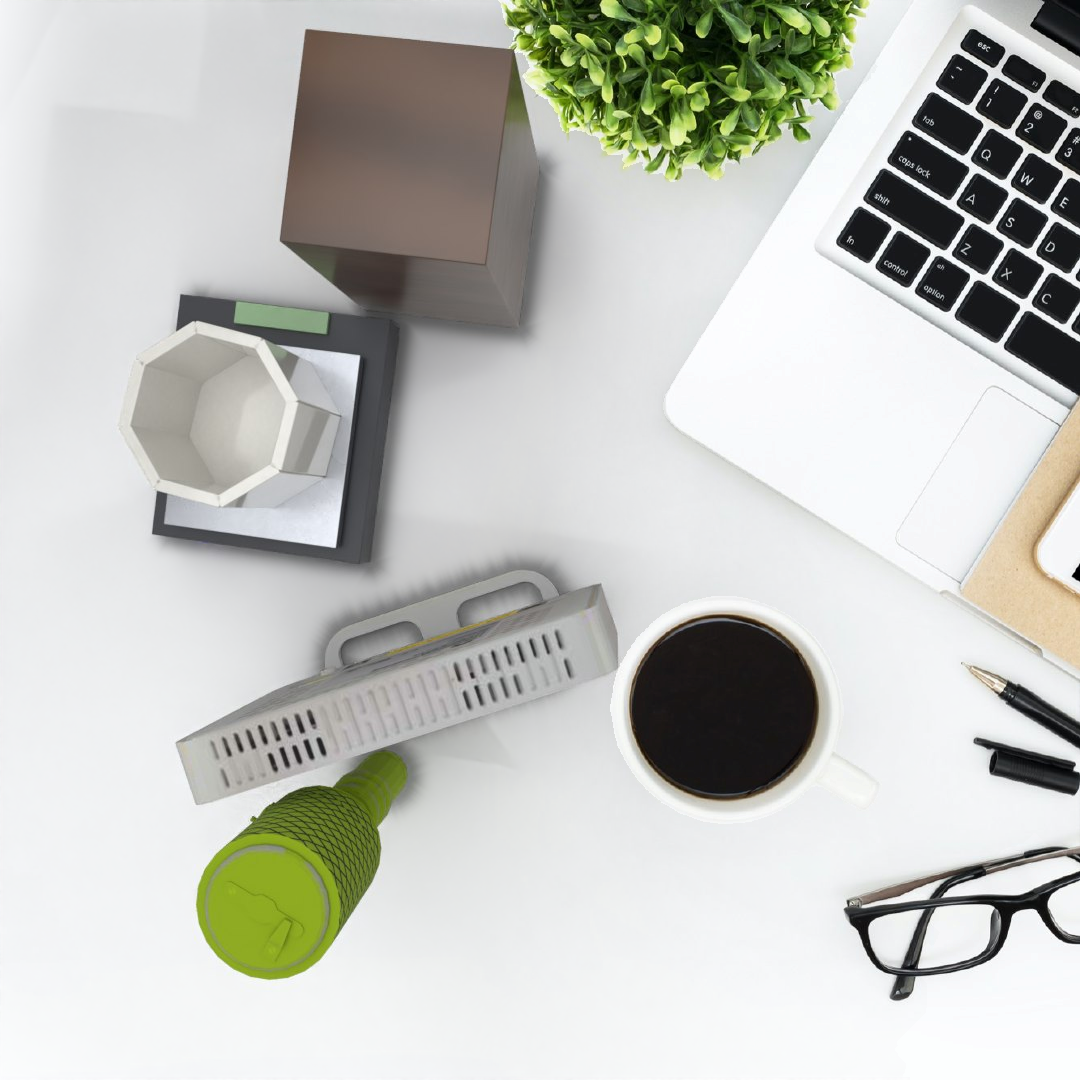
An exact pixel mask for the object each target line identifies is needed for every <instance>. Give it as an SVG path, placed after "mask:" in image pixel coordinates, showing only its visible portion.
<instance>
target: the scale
mask: <svg viewBox="0 0 1080 1080" xmlns="http://www.w3.org/2000/svg"><path fill="white" fill-rule="evenodd" d="M193 321H194V322H196V321H200V322H204V323H208V324H212V325H216V326H219V327H223V328H227V329H231V330H235V331H238V332H242V333H246V334H250V335H254V336H257V337H261V338H263V339H265V340H267V341H269V342H271V343H273V344H276V345H284V346H292V347H300V348H308V349H316V350H323V351H331V352H339V353H347V354H355V355H361V356H362V357H364V361H363V369H362V377H361V385H360V393H359V401H358V408H357V416H356V424H355V432H354V440H353V448H352V456H351V464H350V471H349V479H348V487H347V495H346V503H345V511H344V519H343V527H342V534H341V542H340V548H329V547H322V546H315V545H308V544H301V543H294V542H287V541H280V540H273V539H266V538H259V537H252V536H244V535H237V534H230V533H223V532H216V531H209V530H202V529H195V528H188V527H181V526H174V525H167V524H164V519H165V510H166V502H167V493H164V492H160V491H156V496H155V505H154V512H153V520H152V528H151V535H153V536H161V537H165V538H167V537H168V538H173V539H174V538H175V539H181V540H188V541H196V542H201V543H202V542H203V543H210V544H217V545H222V546H223V545H224V546H229V547H238V548H243V549H244V548H245V549H250V550H251V549H252V550H258V551H265V552H272V553H280V554H287V555H293V556H301V557H307V558H315V559H321V560H329V561H336V562H341V563H342V562H343V563H350V564H357V565H361V564H365V563H370V562H371V556H372V549H373V543H374V542H373V541H374V533H375V526H376V518H377V517H376V516H377V509H378V501H379V495H380V488H381V479H382V471H383V465H384V463H383V462H384V455H385V448H386V439H387V432H388V423H389V416H390V409H391V401H392V393H393V385H394V377H395V369H396V363H397V362H396V361H397V354H398V347H399V346H398V345H399V339H400V338H399V337H400V329H401V327H399V326H398V324H396V323H395V322H394V321H393V320H391V319H389V318H388V319H387V318H380V317H374V316H373V317H372V316H365V315H364V316H363V315H355V314H348V313H340V312H331V311H323V310H315V309H306V308H298V307H289V306H283V305H275V304H265V303H257V302H250V301H241V300H234V299H233V300H232V299H225V298H216V297H210V296H209V297H208V296H200V295H193V294H184V293H180V294H179V301H178V311H177V318H176V327H175V332H177V331H178V330H180V329H181V328H183V327H185V326H186V325H188V324H190V323H191V322H193Z"/></svg>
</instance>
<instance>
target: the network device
mask: <svg viewBox="0 0 1080 1080" xmlns="http://www.w3.org/2000/svg"><path fill="white" fill-rule="evenodd" d="M523 582H525V583H531V584H533V585H534V586H536V587H537V589H538V590H539V591H540V595H541V597H542V601H539V602H536V603H533V604H529V605H527V606H524V607H521V608H517V609H513V610H511V611H508V612H504V613H502V614H499V615H495V616H492V617H490V618H487V619H484V620H481V621H477V622H475V623H471V624H468V625H466V626H461V623H460V620H459V615H458V614H459V609H460V607H461V605H462V604H463V603H465V601H468V600H472V599H475V598H477V597H480V596H483V595H487V594H489V593H492V592H495V591H498V590H501V589H504V588H508V587H511V586H513V585H516V584H520V583H523ZM612 615H613V614H612V612H611V609H610V606H609V603H608V600H607V598H606V594H605V591H604V589H603V586H602V583H601V582H600V583H595V584H591V585H588V586H585V587H582V588H581V587H580V588H579V589H576V590H572V591H569V592H566V593H563V594H560V593H559V591H558V588H557V587H556V586H555V584H554V583H553V581H551V579H549V578H548V577H547V576H545V575H544V574H542V573H540V572H539V571H534V570H531V569H516V570H512V571H508V572H506V573H505V572H504V573H502V574H499V575H496V576H494V577H490V578H488V579H484V580H481V581H479V582H475V583H472V584H469V585H467V586H463V587H460V588H457V589H454V590H452V591H449V592H445V593H442V594H439V595H436V596H433V597H430V598H427V599H425V600H422V601H418V602H415V603H412V604H409V605H406V606H404V607H400V608H397V609H394V610H390V611H388V612H385V613H382V614H379V615H375V616H373V617H370V618H367V619H364V620H361V621H358V622H355V623H351V624H350V625H348V626H345V627H342V628H341V629H340V630H339V631H337V632H336V633H335V634H334V635H333V637H331V639H330V640H329V642H328V644H327V646H326V650H325V653H324V667H325V669H322V670H320V671H319V673H318V674H316V675H313V676H309V677H307V678H304V679H301V680H298V681H295V682H292V683H289V684H287V685H284V686H281V687H279V688H277V689H274V690H272V691H270V692H268V693H266V694H264V695H262V696H260V697H259V698H257V699H255V700H252V701H251V702H249V703H247V704H245V705H243V706H241V707H239V708H238V709H236V710H233V711H232V712H230V713H228V714H226V715H224V716H223V717H219V719H217V720H215V721H213V722H211V723H209V724H207V725H205V726H204V727H201V728H200V729H198V730H196V731H194V732H192V733H190V734H188V735H186V736H184V737H182V738H181V739H179V740H176V741H175V742H174V744H175V747H176V749H177V753H178V755H179V758H180V762H181V765H182V767H183V770H184V773H185V776H186V779H187V782H188V785H189V788H190V791H191V794H192V797H193V800H194V804H195V805H196V806H202V805H207V804H210V803H214V802H216V801H217V802H218V801H219V800H222V799H223V800H224V799H226V798H229V797H232V796H235V795H239V794H242V793H244V792H247V791H251V790H254V789H257V788H260V787H264V786H266V785H267V786H268V785H270V784H273V783H276V782H280V781H282V780H286V779H288V778H292V777H295V776H298V775H302V774H304V773H308V772H311V771H314V770H317V769H320V768H322V767H327V766H330V765H332V764H335V763H339V762H343V761H345V760H348V759H352V758H355V757H358V756H360V755H365V754H367V753H370V752H374V751H376V750H377V751H378V750H379V749H382V748H386V747H389V746H391V745H395V744H398V743H401V742H405V741H407V740H411V739H415V738H417V737H420V736H424V735H426V734H427V735H428V734H429V733H433V732H437V731H440V730H442V729H445V728H449V727H452V726H455V725H457V724H461V723H464V722H468V721H470V720H473V719H477V718H480V717H483V716H486V715H489V714H493V713H496V712H498V711H502V710H506V709H508V708H512V707H515V706H517V705H521V704H524V703H527V702H530V701H534V700H536V699H539V698H542V697H546V696H549V695H552V694H555V693H558V692H562V691H564V690H567V689H571V688H573V687H577V686H580V685H583V684H586V683H590V682H592V681H595V680H598V679H600V678H603V677H606V676H608V675H610V674H612V673H614V672H616V671H617V670H618V669H619V642H618V641H619V640H618V638H619V637H618V631H617V627H616V624H615V622H614V618H613V616H612ZM403 622H410V623H412V624H414V625H415V626H416V627H417V628H418V629H419V631H420V633H421V636H422V639H423V640H420V641H417V642H414V643H410V644H408V645H405V646H402V647H398V648H395V649H392V650H390V651H386V652H383V653H380V654H377V655H374V656H371V657H367V658H365V659H361V660H359V661H355V662H353V663H349V664H347V665H345V664H344V662H343V658H342V647H343V646H344V644H345V642H347V641H348V640H350V639H354V638H356V637H360V636H363V635H366V634H368V633H372V632H374V631H378V630H381V629H383V628H387V627H389V626H392V625H395V624H398V623H403Z"/></svg>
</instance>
